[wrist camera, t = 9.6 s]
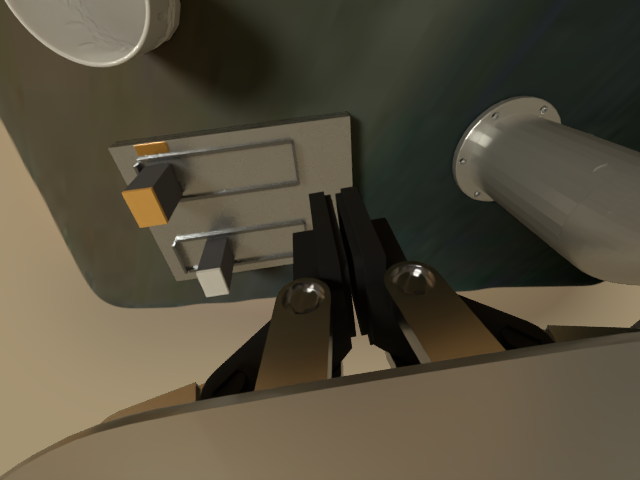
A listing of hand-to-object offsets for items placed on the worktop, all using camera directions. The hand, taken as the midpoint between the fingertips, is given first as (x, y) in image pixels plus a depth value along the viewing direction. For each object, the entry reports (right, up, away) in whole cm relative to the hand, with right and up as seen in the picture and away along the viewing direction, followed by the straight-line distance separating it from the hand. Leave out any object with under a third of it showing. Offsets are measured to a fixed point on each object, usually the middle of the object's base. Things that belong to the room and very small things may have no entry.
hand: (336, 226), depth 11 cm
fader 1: (-17, +6, +21) cm, 28 cm away
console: (-9, +4, +26) cm, 28 cm away
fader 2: (-13, -2, +27) cm, 30 cm away
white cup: (-16, +20, +14) cm, 29 cm away
